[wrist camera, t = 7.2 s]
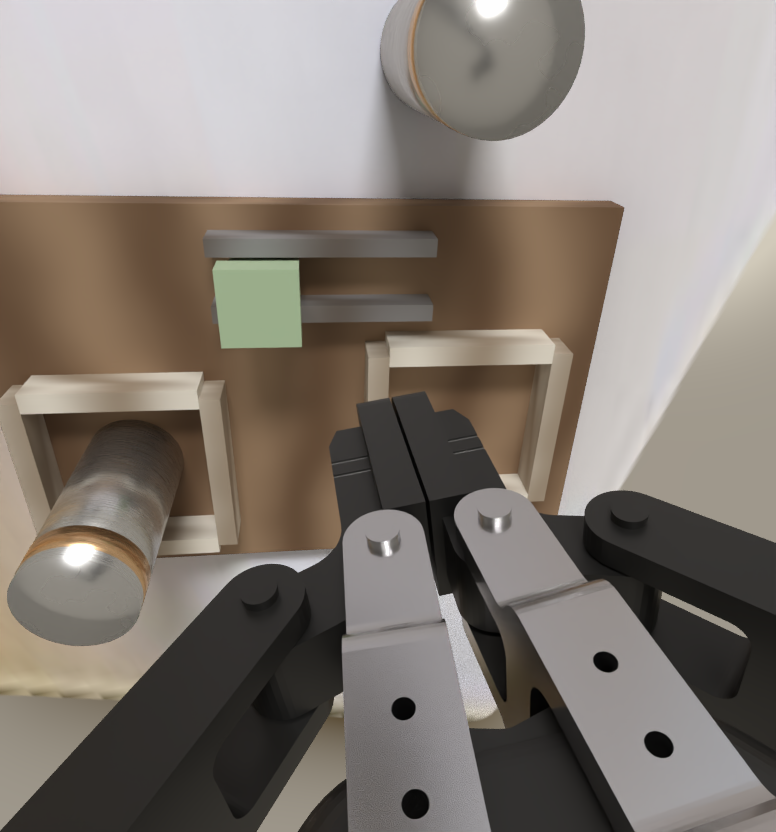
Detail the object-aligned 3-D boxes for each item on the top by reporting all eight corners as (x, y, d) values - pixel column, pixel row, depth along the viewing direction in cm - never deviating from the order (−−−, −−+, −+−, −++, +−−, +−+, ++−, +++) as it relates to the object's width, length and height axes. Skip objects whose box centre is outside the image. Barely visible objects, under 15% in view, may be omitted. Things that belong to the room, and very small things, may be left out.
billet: (378, 112, 27) (411, 140, 18) (381, -23, 24) (421, -66, 16) (486, 115, 27) (568, 143, 19) (500, -17, 25) (601, -55, 16)
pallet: (58, 545, 37) (36, 589, 34) (-53, 194, 26) (-99, 211, 23) (544, 521, 40) (564, 558, 37) (610, 200, 30) (644, 217, 27)
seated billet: (98, 497, 33) (25, 650, 25) (78, 420, 31) (-10, 560, 22) (189, 493, 34) (149, 641, 25) (177, 417, 31) (128, 553, 23)
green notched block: (233, 307, 29) (221, 348, 25) (226, 237, 27) (212, 269, 23) (302, 306, 29) (301, 347, 25) (299, 238, 27) (298, 269, 23)
